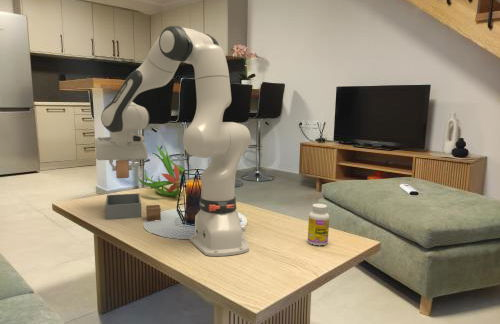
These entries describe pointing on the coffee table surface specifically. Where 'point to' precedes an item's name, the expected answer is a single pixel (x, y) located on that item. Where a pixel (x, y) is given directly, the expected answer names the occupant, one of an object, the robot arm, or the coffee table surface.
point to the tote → (123, 206)
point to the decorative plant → (166, 176)
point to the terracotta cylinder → (122, 168)
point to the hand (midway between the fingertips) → (122, 170)
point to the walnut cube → (153, 212)
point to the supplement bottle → (318, 225)
